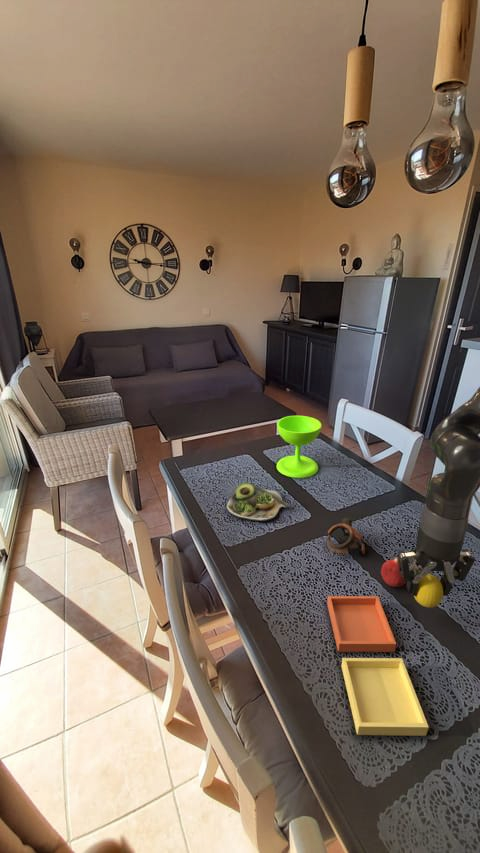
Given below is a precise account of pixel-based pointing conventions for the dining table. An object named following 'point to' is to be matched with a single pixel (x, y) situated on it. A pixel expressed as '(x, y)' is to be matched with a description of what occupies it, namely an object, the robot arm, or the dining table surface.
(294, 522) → the dining table surface
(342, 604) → the terracotta tray
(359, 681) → the cream tray
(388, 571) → the onion
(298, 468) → the wineglass
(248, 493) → the salad plate
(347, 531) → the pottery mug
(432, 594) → the lemon
